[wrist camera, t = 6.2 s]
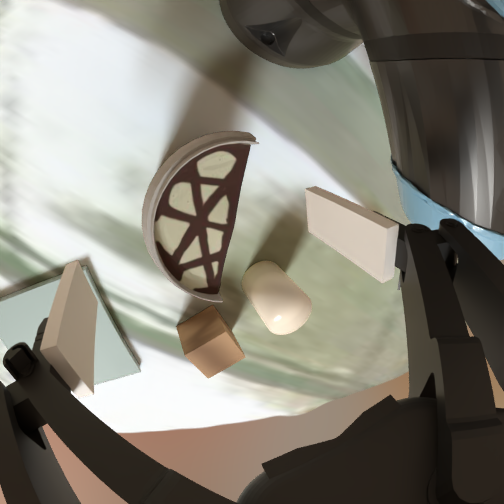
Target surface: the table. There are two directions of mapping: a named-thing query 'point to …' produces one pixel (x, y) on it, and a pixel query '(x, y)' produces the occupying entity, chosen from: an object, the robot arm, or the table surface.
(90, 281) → the teal board
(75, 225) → the table surface
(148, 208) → the food container
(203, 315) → the walnut block
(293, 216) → the table surface
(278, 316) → the cream cylinder
